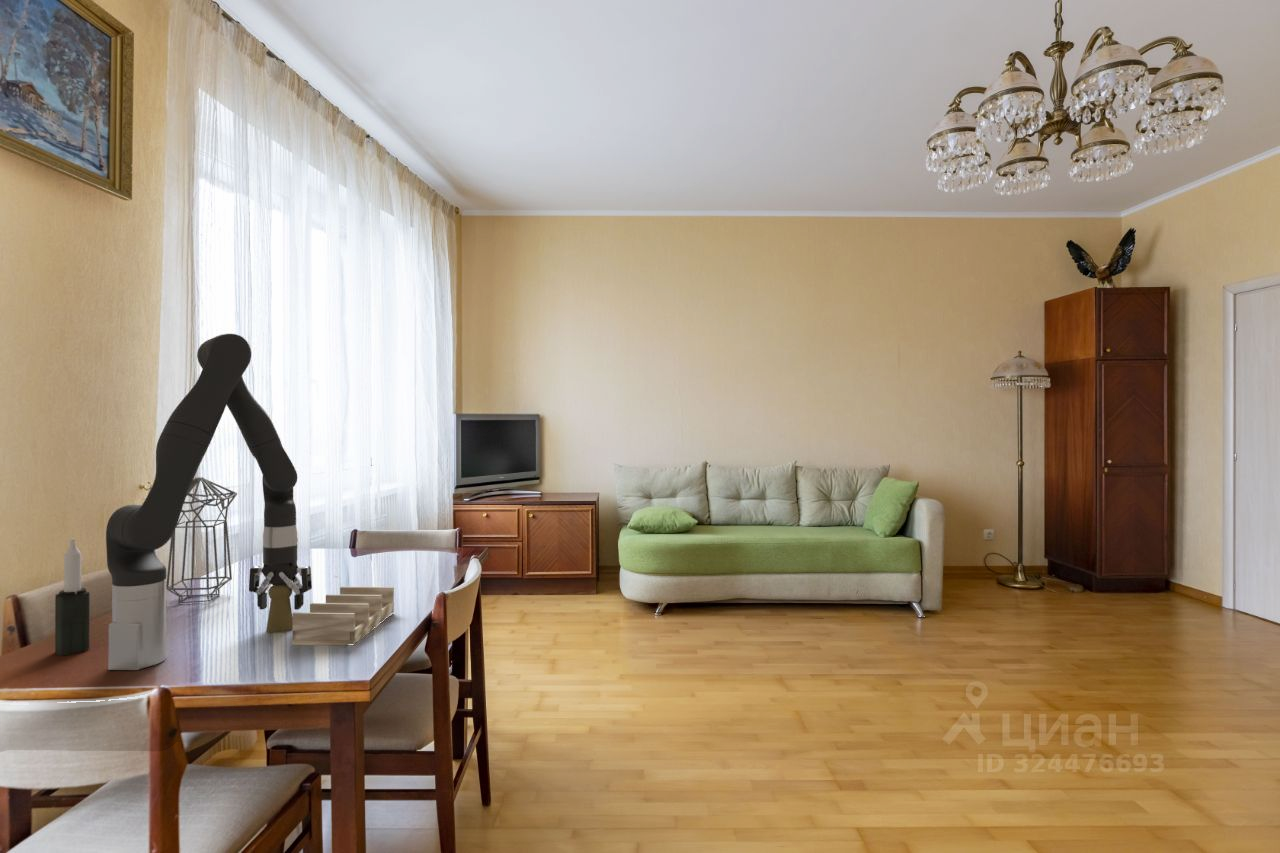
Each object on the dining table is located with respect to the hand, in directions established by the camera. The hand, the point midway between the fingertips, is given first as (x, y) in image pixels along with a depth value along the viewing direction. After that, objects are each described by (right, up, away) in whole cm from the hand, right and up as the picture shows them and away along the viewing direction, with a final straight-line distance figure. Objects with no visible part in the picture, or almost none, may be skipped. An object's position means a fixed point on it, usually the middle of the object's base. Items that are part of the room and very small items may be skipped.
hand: (280, 608), depth 167 cm
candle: (-37, -5, -18) cm, 41 cm away
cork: (0, -5, 0) cm, 5 cm away
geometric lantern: (-37, -5, +25) cm, 45 cm away
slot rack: (+16, -5, +1) cm, 17 cm away
